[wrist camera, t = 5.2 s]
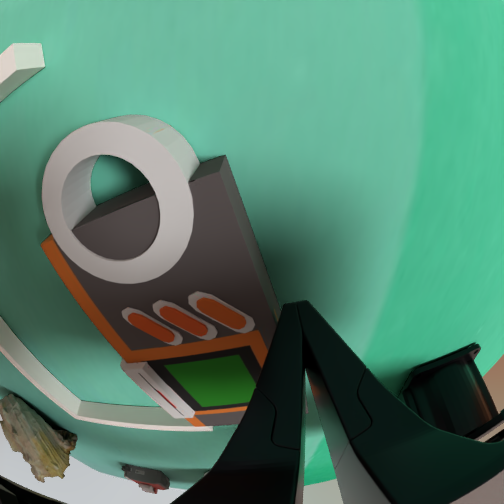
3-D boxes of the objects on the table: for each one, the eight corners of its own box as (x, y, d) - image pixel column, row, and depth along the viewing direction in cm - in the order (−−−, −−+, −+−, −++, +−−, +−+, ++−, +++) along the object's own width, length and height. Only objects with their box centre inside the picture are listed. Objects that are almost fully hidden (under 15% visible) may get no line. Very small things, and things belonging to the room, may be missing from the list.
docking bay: (39, 29, 5) (1, 28, 3) (213, 412, 17) (212, 437, 15) (-80, 164, 6) (-101, 179, 4) (79, 404, 18) (74, 423, 16)
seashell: (48, 391, 20) (17, 466, 11) (98, 447, 27) (83, 504, 18) (-9, 367, 20) (-39, 424, 11) (42, 427, 27) (24, 475, 18)
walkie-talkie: (111, 457, 33) (137, 476, 44) (108, 479, 29) (136, 491, 40) (161, 468, 33) (175, 482, 44) (159, 490, 30) (174, 499, 41)
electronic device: (180, 72, 5) (310, 421, 12) (202, 80, 7) (303, 376, 15) (-5, 191, 6) (190, 434, 13) (45, 163, 8) (195, 393, 16)
